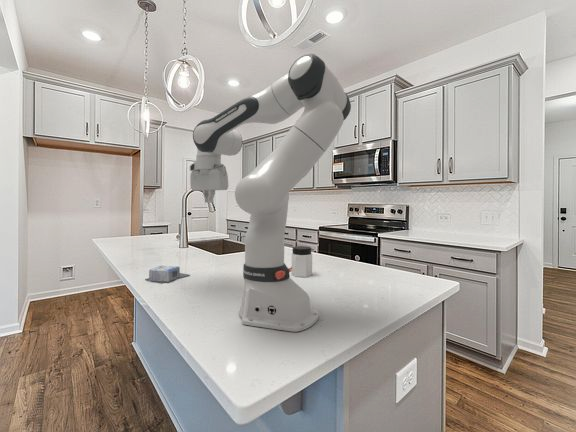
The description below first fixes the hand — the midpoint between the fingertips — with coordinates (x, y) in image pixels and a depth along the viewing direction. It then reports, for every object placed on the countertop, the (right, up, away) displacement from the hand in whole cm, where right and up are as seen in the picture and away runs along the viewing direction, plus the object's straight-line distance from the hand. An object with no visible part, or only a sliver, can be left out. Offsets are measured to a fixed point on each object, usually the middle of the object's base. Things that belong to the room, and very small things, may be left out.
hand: (208, 202), depth 112 cm
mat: (-20, -30, +11) cm, 38 cm away
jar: (+36, -31, +17) cm, 50 cm away
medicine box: (-15, -28, +7) cm, 33 cm away
